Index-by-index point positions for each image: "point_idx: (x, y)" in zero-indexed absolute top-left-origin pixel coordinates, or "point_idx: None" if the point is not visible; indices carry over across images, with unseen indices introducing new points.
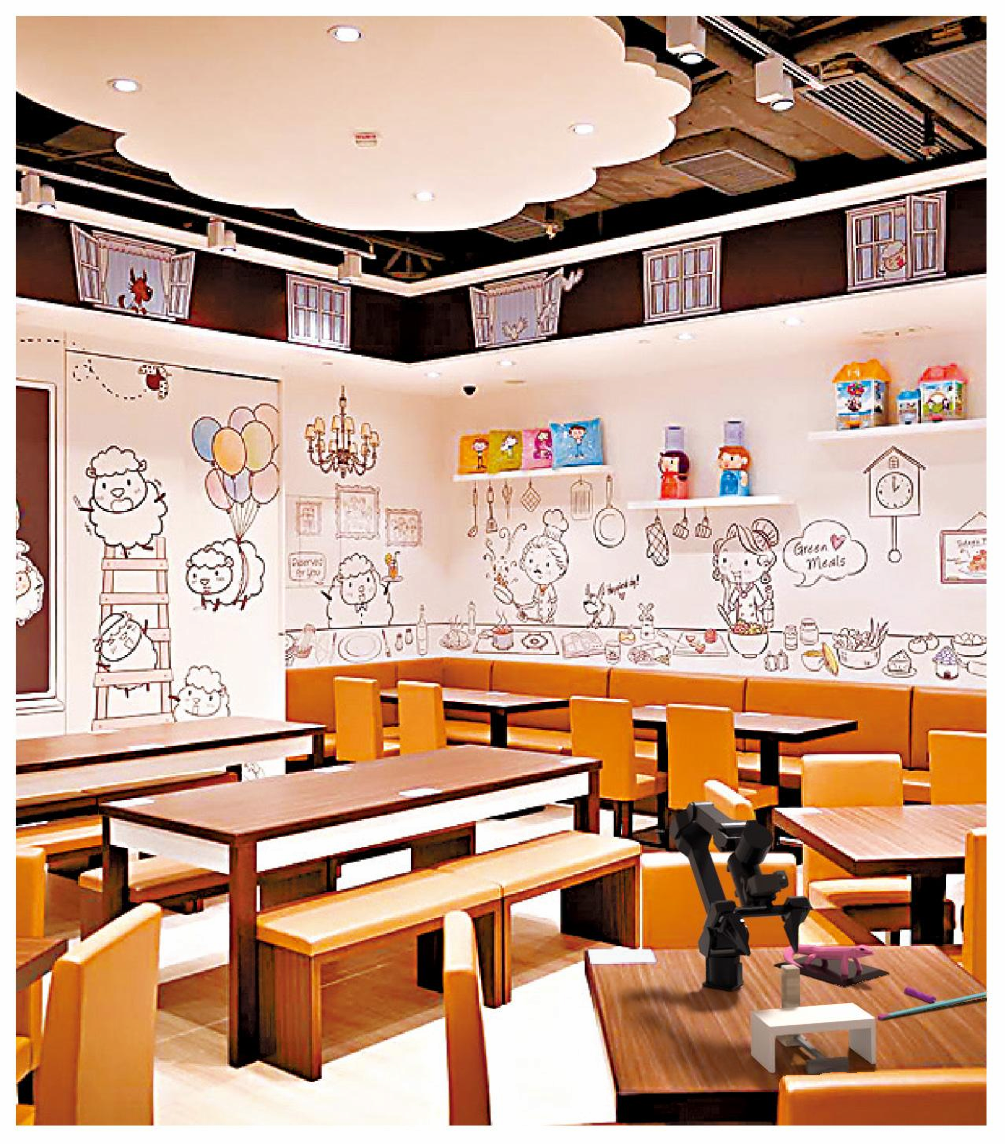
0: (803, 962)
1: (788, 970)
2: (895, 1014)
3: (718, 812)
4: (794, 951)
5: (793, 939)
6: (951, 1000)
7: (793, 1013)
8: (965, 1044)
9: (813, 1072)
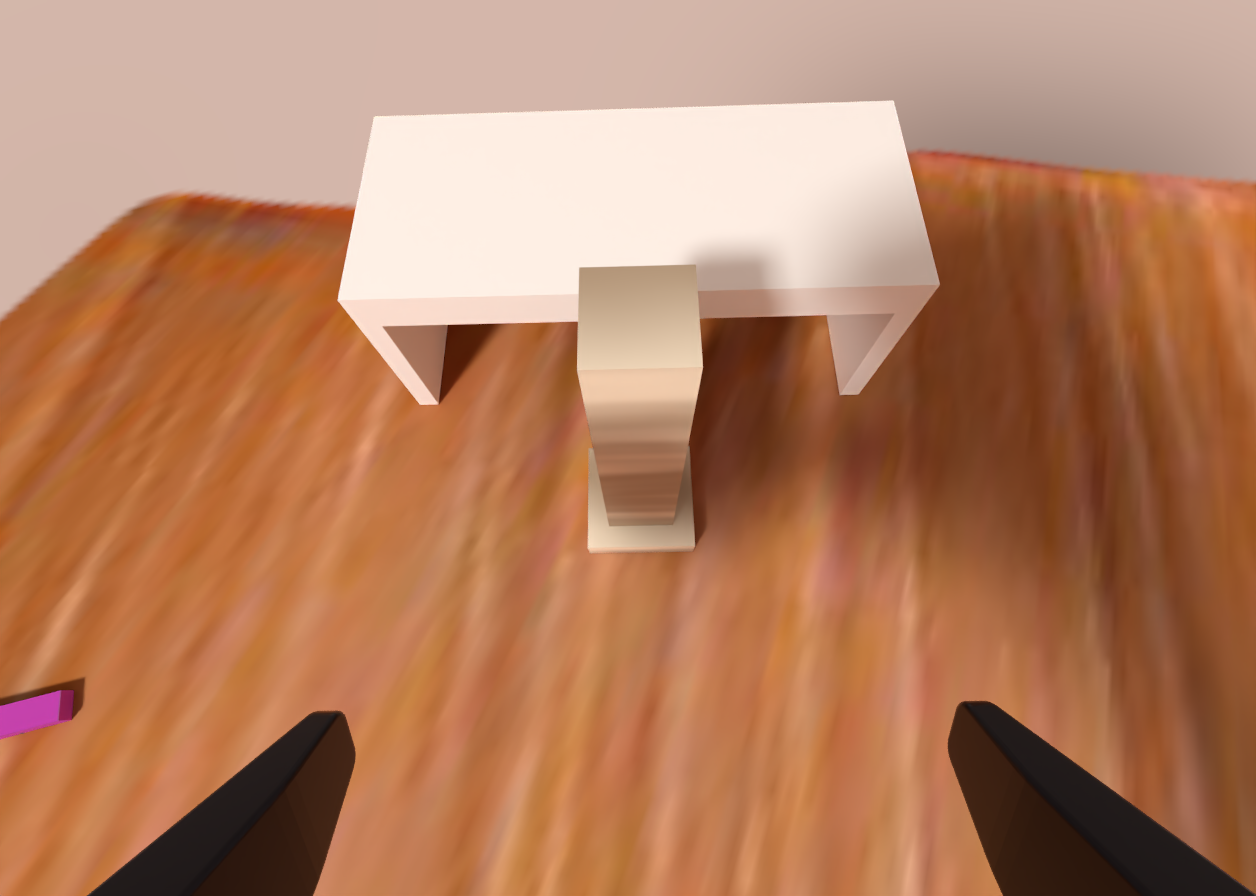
0: None
1: (680, 269)
2: None
3: None
4: (348, 771)
5: (249, 850)
6: None
7: (722, 218)
8: (3, 353)
9: None
